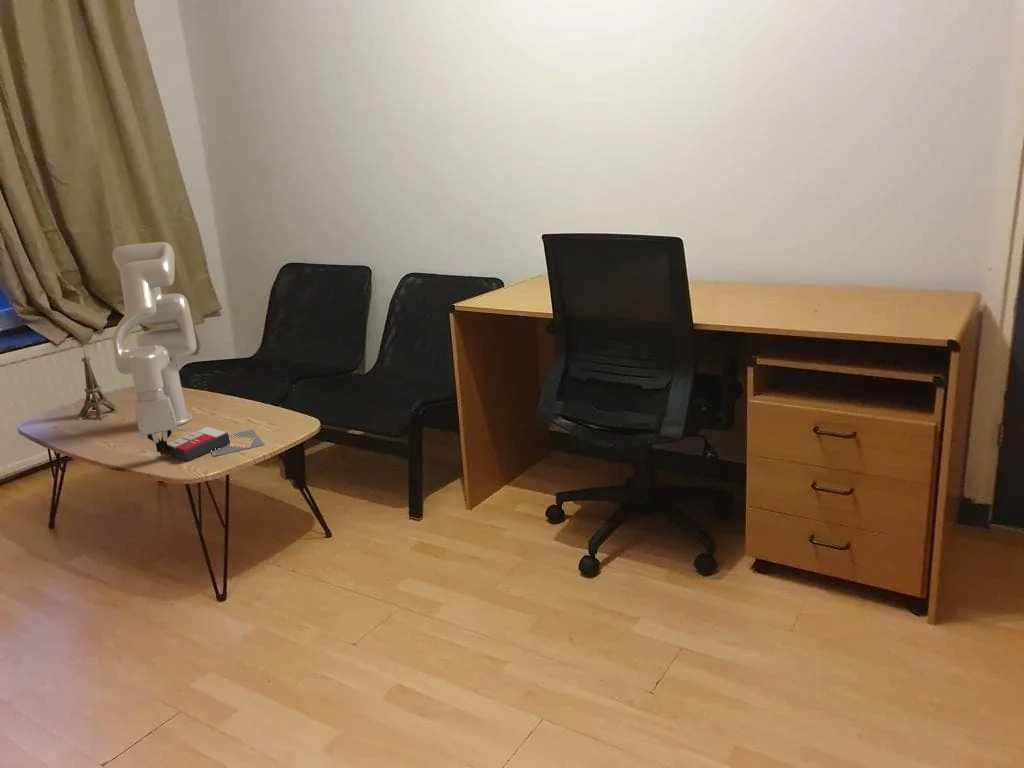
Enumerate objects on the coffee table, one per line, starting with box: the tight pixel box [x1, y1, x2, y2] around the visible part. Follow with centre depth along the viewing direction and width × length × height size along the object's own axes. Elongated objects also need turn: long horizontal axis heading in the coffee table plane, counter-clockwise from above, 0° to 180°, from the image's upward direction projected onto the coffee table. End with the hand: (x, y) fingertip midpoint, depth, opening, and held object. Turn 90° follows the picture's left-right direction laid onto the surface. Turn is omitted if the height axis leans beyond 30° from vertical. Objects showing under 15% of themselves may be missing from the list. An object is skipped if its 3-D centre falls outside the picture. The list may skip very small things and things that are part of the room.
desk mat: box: [210, 429, 265, 458], centre depth 246 cm, size 16×15×1 cm
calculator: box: [166, 426, 230, 462], centre depth 242 cm, size 11×4×15 cm
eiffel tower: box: [76, 347, 119, 420], centre depth 278 cm, size 11×11×25 cm
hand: (163, 453), depth 237 cm, fingers closed
